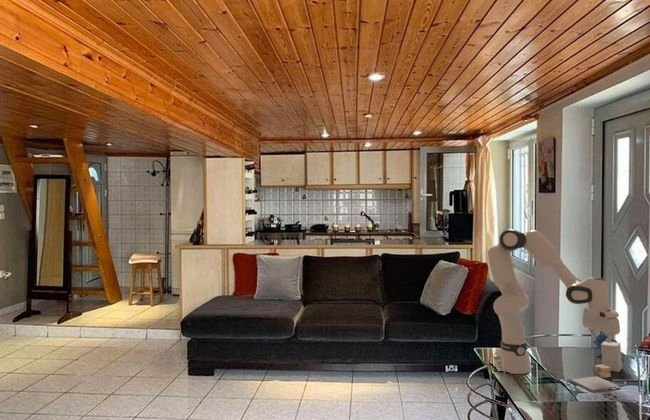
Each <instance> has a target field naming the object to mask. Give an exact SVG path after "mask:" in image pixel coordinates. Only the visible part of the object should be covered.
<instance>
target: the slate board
mask: <svg viewBox="0 0 650 420" xmlns="http://www.w3.org/2000/svg"><path fill="white" fill-rule="evenodd" d="M570 382H571V383H572V384H575V385H577V386H578V387H581V388H583V389H585V390H587V391H590V392H591V391H592V393H595V391H597V392H602V391H601V390H605V391H607V390H606V389H612V388H616V387H620V388H621V385H619V384H616V383H613V382H612V381H609V380H606V378H605V379H602V378H600V377H598V376H587V377H581V378H580V377H579V378H572V379H570Z"/></svg>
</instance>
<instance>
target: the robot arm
mask: <svg viewBox="0 0 650 420" xmlns="http://www.w3.org/2000/svg"><path fill="white" fill-rule="evenodd" d="M518 249H523V250H524V249H525V251H527V253H529V255H530V256H531V257H532V258H533V260H534V261H535V262H537V264H538V265H540V267H541V268H545V269H548V270H550V271H552V272H553V273H554V274H555V275H556V277H558V278H559V280H560V281H561V282H562V283H563V284H564V286H565V288H566V291H565V297H566V299H567V300H568V301H569V302H570V303H571V304H575V305H581V304H587V305H588V307H585V308H584V309H583V313H582V325H583V327H584V328H588V331H589V333H590V335H591V338H592V339H595V338H597V335H598V334H597V333H595V332H596V331H598V332H601V333H604V334H606V336H607V335H608V337H607V338H606V342H608V343H611V342H612V340H613V339H612V337H613V336H616V335H619V334H620V332H621V327H620V320H619V319H618V318H619V317H620V315H619V312H618V311H616V310H614V308H612V307H610V303H609V297H610V296H609V287H608V282H607V281H606V280H605V278H602V277H598V276H588V277H586V278H585V279H584V280H581V279H579V278H577V276H575V275H574V273H572V271H571V270H570V269H569V268H568V267H567V266H566V265H565V263H564V262H563V260H562V258H561V257H560V255H559V254H558V252H557V250H556V248H555V247H554V246H553V244H551V242H550V241H549V240H548V238H546V237H545V236H544V235H543V234H542V233H541V232H539V231H538V230H536V229H531V230H529V231H526V232H525V233H524V232H522V231H519V230H516V229H514V228H508V229H505V230H503V231H502V232H501V233H500V235H499V243H498V244H496V245H493V246H491V247H490V248H489V249H488V250H487V258H488V265H489V269H490V272H491V276H492V279H493V284H494V285H495V286H496V287H497V288H498V289H499V291H500V293H501V295H500V296H498V297H497V298H496V299H495V300H494V302H493V305H492V306H493V310H494V311H493V312H494V313H495V314H496V315H497V316H498V319H499V323H500V326H501V340H499V343H500V348H499V349H498V350H496V351H495V352H494V355H493V360H494V361H495V362H496V363H497V364H498V368H501V369H498V370H502V371H506V372H509V373H508V374H513V375H515V374H516V375H517V374H518V375H522V374H528V373H530V372H532V369H533V365H532V364H531V359H530V353H529V351H527V350H528V345H527V342H526V329H525V325H524V324H523V322H522V320H521V315H520V313H523V312H525V311H526V309H528V307H529V305H530V298H529V296H528V295H527V293H525V292H524V290H523V289H522V287H521V284H520V283H519V281H518V279H517V276H516V272H515V269H514V266H513V262H512V260H511V259H512V258H511V253H513V252H514V251H516V250H518ZM613 338H614V337H613ZM611 339H612V340H611ZM506 372H505V373H506Z"/></svg>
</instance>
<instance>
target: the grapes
mask: <svg viewBox="0 0 650 420" xmlns="http://www.w3.org/2000/svg"><path fill="white" fill-rule="evenodd" d="M607 337H608V335H607V334H606V333H605V332H601V333H599V334H597V338H594V340H593V344H594V345H595V346H596V350H597V351H598V352H601V344H602V343H603V342H604V341H606V338H607ZM611 340H612V342H616V343H618V341H617V340H616V339H614V337H612V339H611Z"/></svg>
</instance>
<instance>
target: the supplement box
mask: <svg viewBox="0 0 650 420" xmlns="http://www.w3.org/2000/svg"><path fill="white" fill-rule="evenodd" d="M600 352H601V363H602V364H601V365H606V366H608V367H610V372H616V373H617V372H620V371H621V370H622V369H623V365H622V349H621V342H617V343H616V342H611V343H608V342H606V341H604V342H603V343H602V344H601V351H600Z"/></svg>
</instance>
